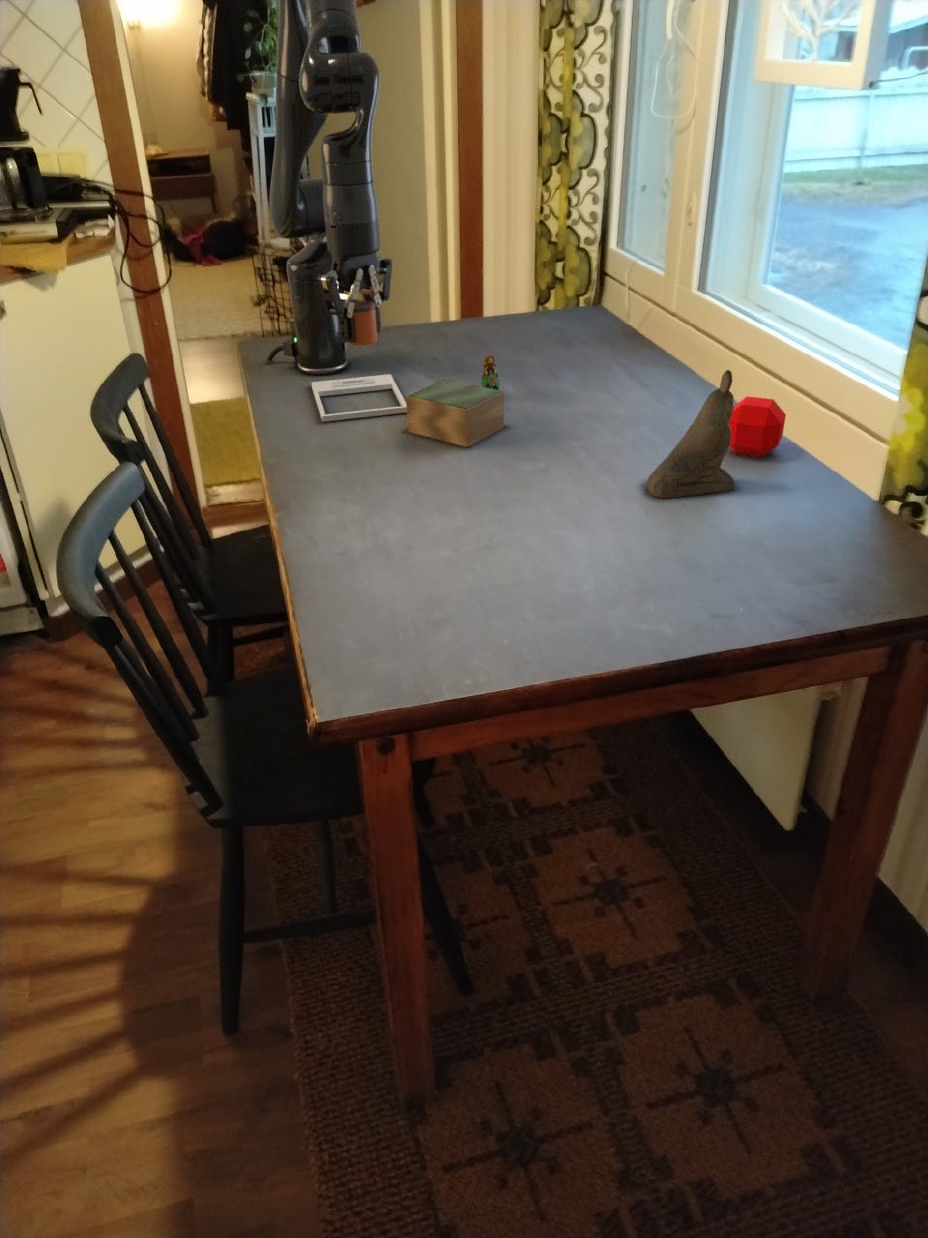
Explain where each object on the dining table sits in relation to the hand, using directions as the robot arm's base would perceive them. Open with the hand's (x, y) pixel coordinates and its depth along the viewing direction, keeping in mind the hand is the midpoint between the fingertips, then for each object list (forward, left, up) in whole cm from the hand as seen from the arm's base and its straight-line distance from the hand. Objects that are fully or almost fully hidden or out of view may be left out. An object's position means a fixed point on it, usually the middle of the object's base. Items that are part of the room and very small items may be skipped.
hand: (361, 336), depth 144 cm
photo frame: (-14, +13, -16) cm, 25 cm away
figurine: (+6, +25, -17) cm, 31 cm away
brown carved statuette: (+50, +11, -17) cm, 54 cm away
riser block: (+9, +11, -16) cm, 22 cm away
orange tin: (0, 0, -1) cm, 1 cm away
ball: (+52, +28, -17) cm, 61 cm away
